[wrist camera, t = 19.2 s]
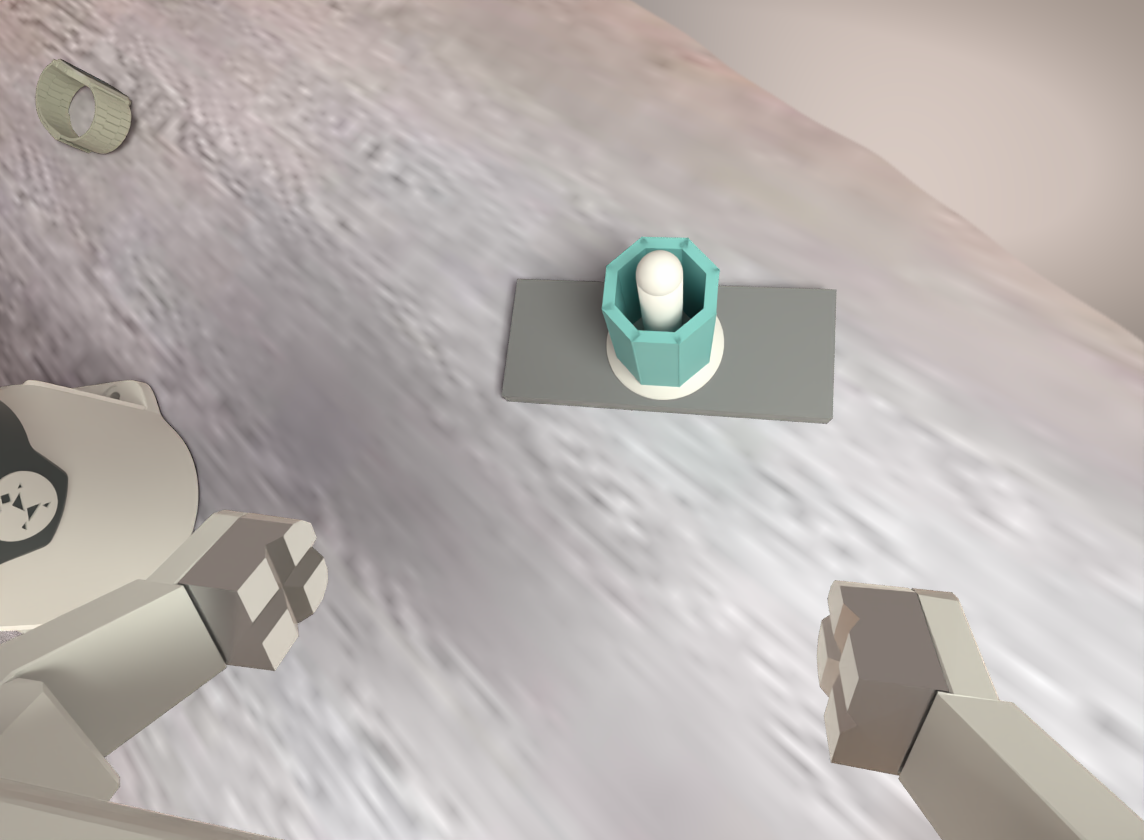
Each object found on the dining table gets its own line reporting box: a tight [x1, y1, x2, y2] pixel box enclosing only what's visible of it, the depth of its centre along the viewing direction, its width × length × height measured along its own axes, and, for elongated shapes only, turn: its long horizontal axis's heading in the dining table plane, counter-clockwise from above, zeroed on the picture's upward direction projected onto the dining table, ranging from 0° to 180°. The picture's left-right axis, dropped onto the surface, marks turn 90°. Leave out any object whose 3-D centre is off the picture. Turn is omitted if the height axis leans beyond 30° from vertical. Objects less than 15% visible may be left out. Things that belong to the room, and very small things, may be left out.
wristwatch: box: [35, 59, 131, 154], centre depth 51 cm, size 9×6×5 cm
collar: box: [601, 237, 720, 387], centre depth 35 cm, size 6×6×8 cm
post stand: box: [502, 250, 836, 424], centre depth 35 cm, size 20×8×13 cm, turn 84°
